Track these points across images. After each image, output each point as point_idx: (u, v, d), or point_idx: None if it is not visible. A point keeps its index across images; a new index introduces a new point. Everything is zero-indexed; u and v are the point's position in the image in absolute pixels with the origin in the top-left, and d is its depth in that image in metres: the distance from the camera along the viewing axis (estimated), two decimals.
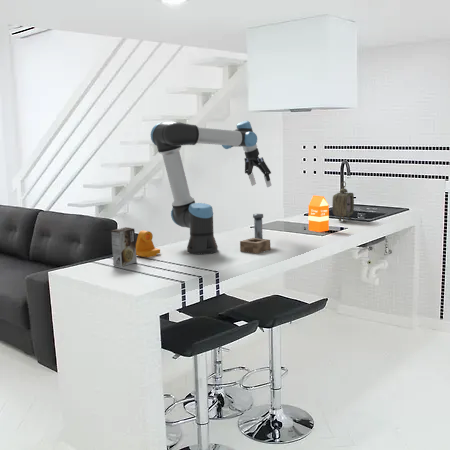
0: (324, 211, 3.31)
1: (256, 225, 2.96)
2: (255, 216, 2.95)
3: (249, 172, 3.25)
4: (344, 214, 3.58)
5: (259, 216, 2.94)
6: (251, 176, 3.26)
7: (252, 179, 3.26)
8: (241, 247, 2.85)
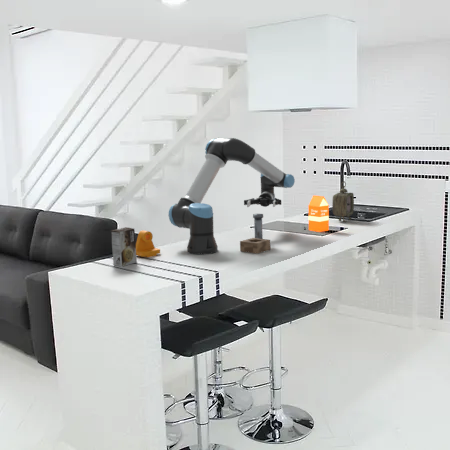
0: (324, 211, 3.31)
1: (256, 225, 2.96)
2: (255, 216, 2.95)
3: (250, 201, 3.15)
4: (344, 214, 3.58)
5: (259, 216, 2.94)
6: None
7: (249, 203, 3.11)
8: (241, 247, 2.85)
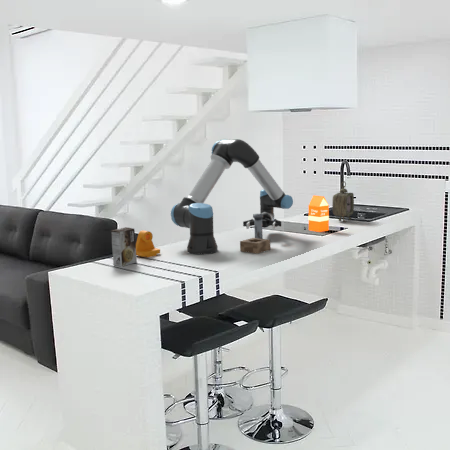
0: (324, 211, 3.31)
1: (256, 225, 2.96)
2: (255, 216, 2.95)
3: (250, 222, 3.09)
4: (344, 214, 3.58)
5: (259, 216, 2.94)
6: (249, 224, 3.07)
7: (248, 224, 3.05)
8: (241, 247, 2.85)
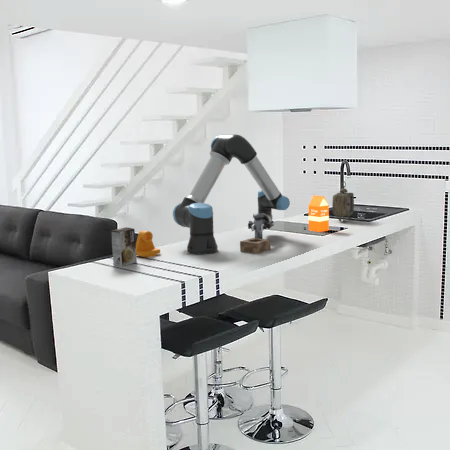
0: (324, 211, 3.31)
1: (256, 225, 2.96)
2: (255, 216, 2.95)
3: None
4: (344, 214, 3.58)
5: (259, 216, 2.94)
6: None
7: (254, 227, 2.96)
8: (241, 247, 2.85)
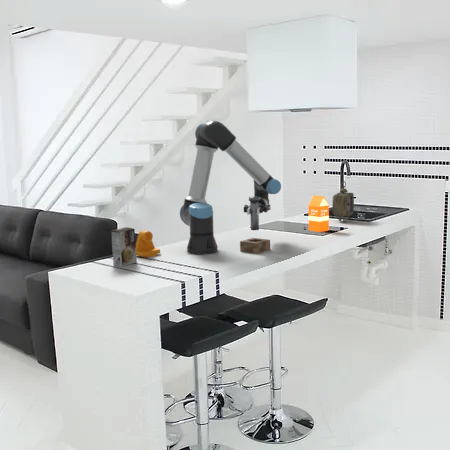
0: (324, 211, 3.31)
1: (252, 208, 2.82)
2: (251, 199, 2.80)
3: None
4: (344, 214, 3.58)
5: (255, 199, 2.80)
6: None
7: (249, 210, 2.82)
8: (241, 247, 2.85)
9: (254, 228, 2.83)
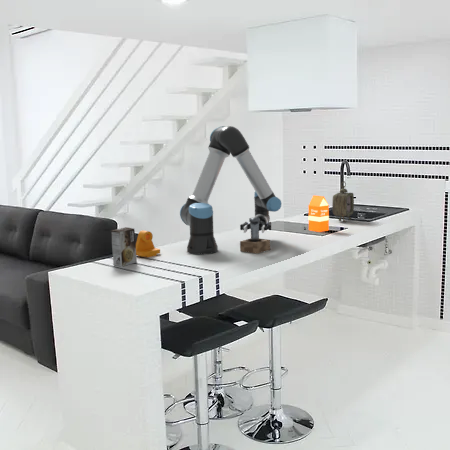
0: (324, 211, 3.31)
1: (252, 229, 2.83)
2: (251, 220, 2.82)
3: (247, 225, 2.89)
4: (344, 214, 3.58)
5: (255, 220, 2.82)
6: (246, 227, 2.86)
7: (246, 228, 2.84)
8: (241, 247, 2.85)
9: None
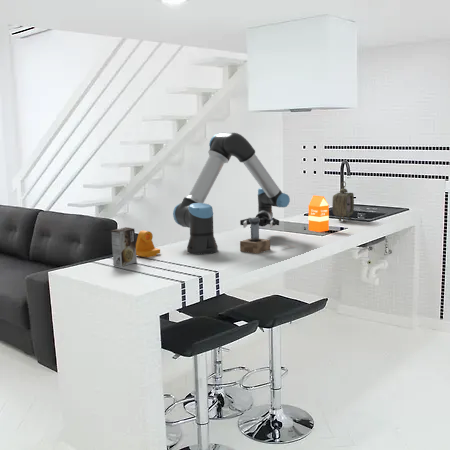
0: (324, 211, 3.31)
1: (252, 229, 2.83)
2: (251, 220, 2.82)
3: (247, 221, 3.02)
4: (344, 214, 3.58)
5: (255, 220, 2.82)
6: (246, 223, 3.00)
7: (245, 223, 2.98)
8: (241, 247, 2.85)
9: None
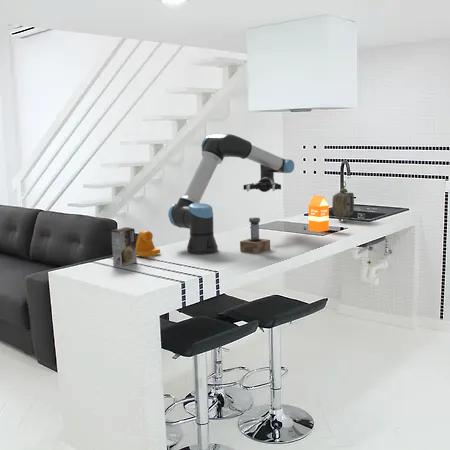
0: (324, 211, 3.31)
1: (252, 229, 2.83)
2: (251, 220, 2.82)
3: (250, 185, 3.14)
4: (344, 214, 3.58)
5: (255, 220, 2.82)
6: (249, 187, 3.11)
7: (249, 187, 3.09)
8: (241, 247, 2.85)
9: None
